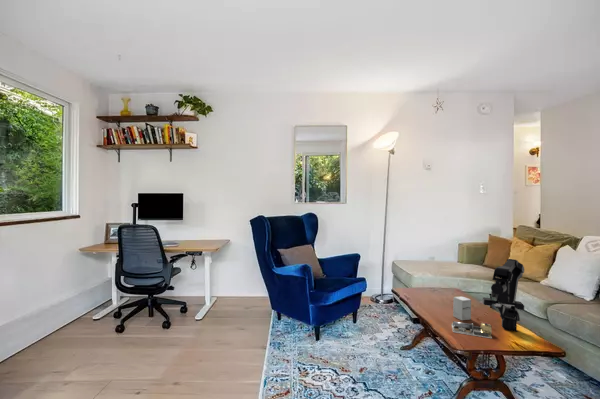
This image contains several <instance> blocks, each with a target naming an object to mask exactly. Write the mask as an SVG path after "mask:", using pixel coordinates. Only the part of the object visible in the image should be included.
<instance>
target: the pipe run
mask: <svg viewBox="0 0 600 399" xmlns="http://www.w3.org/2000/svg"><path fill="white" fill-rule="evenodd" d="M451 329H452V330H451V331H452V332H453V333H455V334H456V333H457V334H461V335H467V336H474V337H481V338H486V339H493V337H492V334H491V335H489V334H488V333H483V332H481V326H477V325H474V323H466V322H460V321H455V320H454V321H452V323H451Z"/></svg>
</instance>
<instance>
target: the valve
mask: <svg viewBox="0 0 600 399" xmlns="http://www.w3.org/2000/svg"><path fill="white" fill-rule="evenodd" d="M480 327H481V332H483V333H488V334H489V335H491V336H492V329H493V328H492V325H491V324H490V322H488V321H487V322H486V321H482V322H480Z"/></svg>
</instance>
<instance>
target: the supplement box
mask: <svg viewBox="0 0 600 399" xmlns="http://www.w3.org/2000/svg"><path fill="white" fill-rule="evenodd" d="M452 301H453V305H452V306H453V307H452V308H453V309H452V314H453V315H452V317H453V318H456V319H458V320H460V321H466V320H467V321H468V320H471V318H472V299H470V298H468V297H465V296H454V297H453V300H452Z"/></svg>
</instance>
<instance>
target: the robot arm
mask: <svg viewBox="0 0 600 399" xmlns="http://www.w3.org/2000/svg"><path fill="white" fill-rule="evenodd" d="M524 273H525V266H524V265H523V263H521V262H519V261H518V260H517V259H512V258H507V259H506V262H504V264H503V265H500V266H497V267H495V269H494V271H493V275H492V281H494V282H495V283H493V284H492V285H491V286H490V288H491V292H490V297H482V302H481V303H482V304H483V305H484V306H490V307H491V306H492V305H494V307H495V308H496V309H498V310H497V311H498V312H499V316H500V319H501V327H502V329H503V330H504V331H510V332H516V333H517V332H518V328H517V327H518V326H517V324H518V323H517V322H520V320H521V317H520V313H519V310H522V311H524V310H525V305H524V303H523V302H522V301H517V300H516V298H517V291H518V285H519V280H520V279H521V278H522V277H523V274H524ZM492 298H494V299H495V300H494V299H492Z"/></svg>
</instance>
